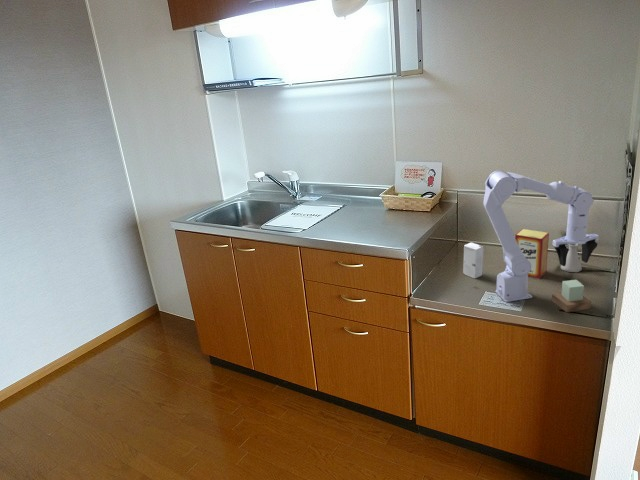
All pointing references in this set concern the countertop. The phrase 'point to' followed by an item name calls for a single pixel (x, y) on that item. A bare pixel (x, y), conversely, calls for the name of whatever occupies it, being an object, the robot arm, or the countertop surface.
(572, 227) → the robot arm
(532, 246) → the baking soda box
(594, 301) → the countertop surface
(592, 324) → the countertop surface
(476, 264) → the skincare box
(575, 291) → the sage block
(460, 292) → the countertop surface
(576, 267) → the flask
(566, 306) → the walnut block
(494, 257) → the countertop surface
